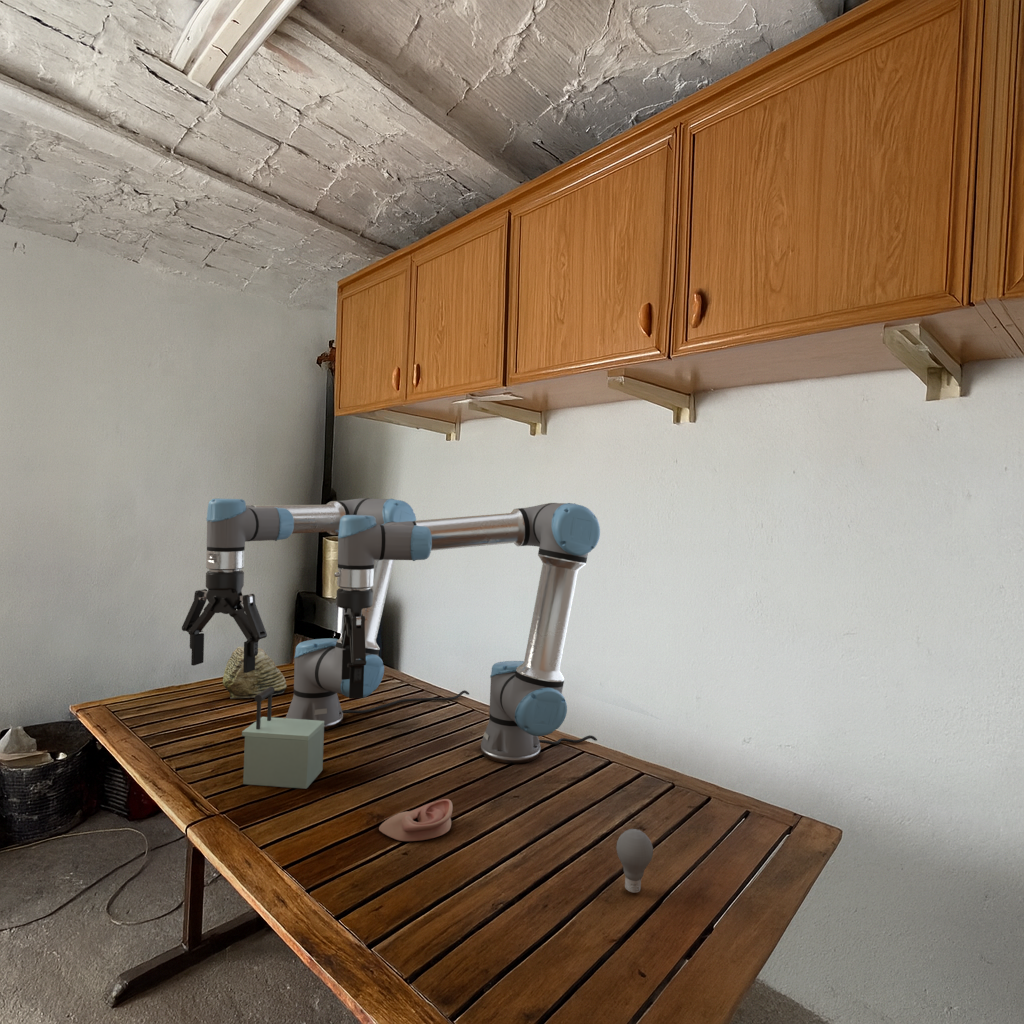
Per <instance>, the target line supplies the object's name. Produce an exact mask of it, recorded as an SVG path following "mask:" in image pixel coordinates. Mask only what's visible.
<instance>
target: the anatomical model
mask: <svg viewBox="0 0 1024 1024" xmlns="http://www.w3.org/2000/svg"><path fill="white" fill-rule="evenodd" d="M453 807H454V806H453V802H452V801H451V800H450V799H449V798H443V799H439V800H434V801H432V802H429V803H426V804H424V805H422V806H419V807H417V808H415V809H412V810H409V811H407V810H406V811H401V812H399V813H396V814H394V815H392V816H390V817H388V818H387V819H386V820H385V821H383V822H382V823H381V824H380V825H379V827H378V830H379V832H380V833H382V834H383V835H385V836H387V837H388V838H391V839H394V840H396V841H399V842H417V841H425V840H431V839H434V838H438V837H440V836H443V835H446V834H447V833H448V832H449V831H450V829H451V828H452V818H451V817H452V814H453Z"/></svg>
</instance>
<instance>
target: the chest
mask: <svg viewBox="0 0 1024 1024" xmlns="http://www.w3.org/2000/svg"><path fill="white" fill-rule="evenodd" d="M324 741H325V731H324V726H323V727H322V728H321V729H320V730H319V731H318V732H317V733H316V734H315V735H314V736H313V737H312V738H310V739H309V740H308V741H306V740H292V739H277V738H263V737H248V736H244V747H243V748H244V753H243V778H242V779H243V781H242V784H243V785H248V786H249V785H251V786H263V787H264V786H265V787H278V788H290V789H291V788H292V789H308V788H309V787H310V785H311V784H312V783H313V782H314V781H315V780H316V779H317V778H318V776H319V775H320V774H321V773H322V771H323V769H324V768H323V767H324V743H325V742H324Z"/></svg>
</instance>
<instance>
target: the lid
mask: <svg viewBox="0 0 1024 1024" xmlns="http://www.w3.org/2000/svg"><path fill="white" fill-rule="evenodd" d="M274 691H275V689H274V688H273V687H269V688H267V689H265V690H264V691H262V692H261V693H259V694H258V695H256V696H255V697H254V701H255V702H256V715H255V716H256V718H255V719H256V720H255V721H254V722H253V723H251V724H250V725H249V726H248V727H246V728H245V729H243V730H242V731H241V737H245V736H248V737H263V738H277V739H292V740H306V741H308V740H309V739H310V738H312V737H313V736H314V735H315V734H316V733H317V732H318V731H319V730H320V729H321V728H322V727H323V726H324V721H319V720H304V719H289V718H286V717H273V716H272V709H273V708H272V707H273V695H272V694H273V693H274ZM265 699H267V713H266V714H267V716H262V702H263V701H264V700H265Z"/></svg>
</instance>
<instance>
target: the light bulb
mask: <svg viewBox="0 0 1024 1024" xmlns="http://www.w3.org/2000/svg"><path fill="white" fill-rule="evenodd" d="M615 849H616V854H617V857H618V859H619V861H620V863H621V865H622V867H623V873H624V874H623V875H624V876H625V878H624V888H625V890H627V891H628V892H630V893H634V894H635V893H639V892H640V891H641V889H642V887H641V886H642V879H643V877H644V875H645V871H646V868H647V867H648V866H649V864H650V863H651V861H652V859H653V855H654V847H653V843H652V841H651V838H649V836H648V835H647V834H646V833H645V832H643V831H642V830H641V829H636V828H629V829H627V830H625V831H623V832H622V833H621V834H620V835H619V837H618V839H617V841H616V847H615Z"/></svg>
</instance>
